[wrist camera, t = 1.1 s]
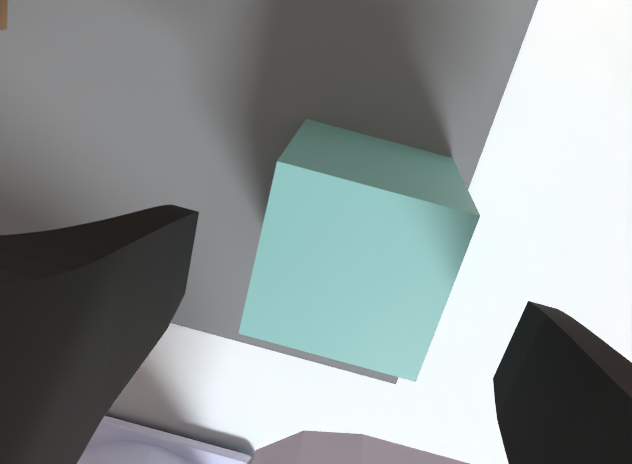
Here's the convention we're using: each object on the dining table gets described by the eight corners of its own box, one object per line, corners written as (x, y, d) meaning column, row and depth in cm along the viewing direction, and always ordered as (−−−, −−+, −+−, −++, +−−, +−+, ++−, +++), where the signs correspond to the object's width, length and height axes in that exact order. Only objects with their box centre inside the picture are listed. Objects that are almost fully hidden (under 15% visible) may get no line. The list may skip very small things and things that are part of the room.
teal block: (407, 287, 18) (415, 381, 14) (274, 251, 18) (238, 333, 14) (452, 158, 17) (479, 215, 12) (306, 118, 17) (276, 161, 12)
